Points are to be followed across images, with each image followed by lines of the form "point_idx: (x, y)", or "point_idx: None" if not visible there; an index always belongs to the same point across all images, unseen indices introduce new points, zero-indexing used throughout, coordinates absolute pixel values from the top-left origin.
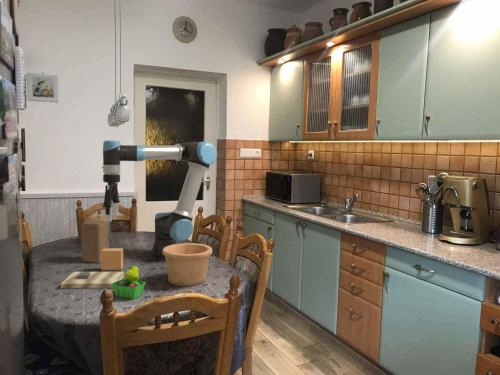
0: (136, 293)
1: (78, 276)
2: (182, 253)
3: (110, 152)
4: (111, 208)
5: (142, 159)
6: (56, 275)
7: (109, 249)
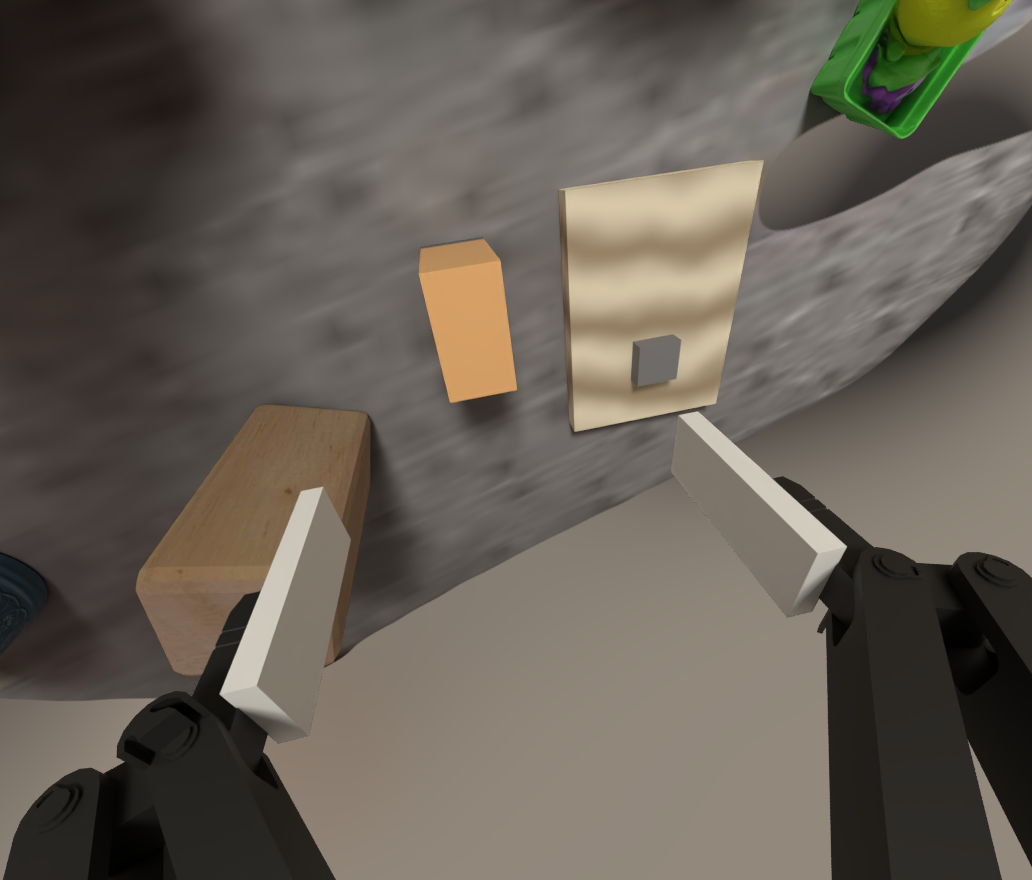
0: None
1: (674, 374)
2: None
3: None
4: (798, 534)
5: None
6: (559, 478)
7: (473, 356)
